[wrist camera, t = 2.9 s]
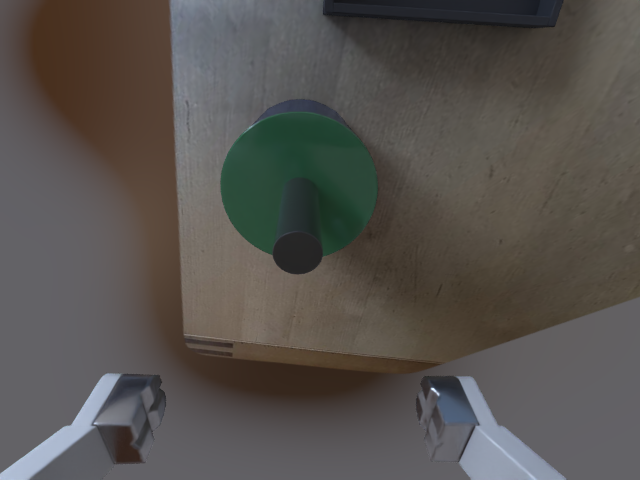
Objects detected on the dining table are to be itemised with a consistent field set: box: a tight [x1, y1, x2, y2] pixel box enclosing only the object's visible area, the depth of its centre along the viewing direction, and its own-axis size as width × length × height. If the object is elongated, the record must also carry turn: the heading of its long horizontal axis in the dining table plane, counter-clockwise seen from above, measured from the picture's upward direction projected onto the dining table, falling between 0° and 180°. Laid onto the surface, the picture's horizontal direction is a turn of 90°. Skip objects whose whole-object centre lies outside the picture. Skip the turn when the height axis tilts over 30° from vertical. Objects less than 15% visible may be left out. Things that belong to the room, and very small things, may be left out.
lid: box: [221, 111, 378, 274], centre depth 21 cm, size 11×11×9 cm
